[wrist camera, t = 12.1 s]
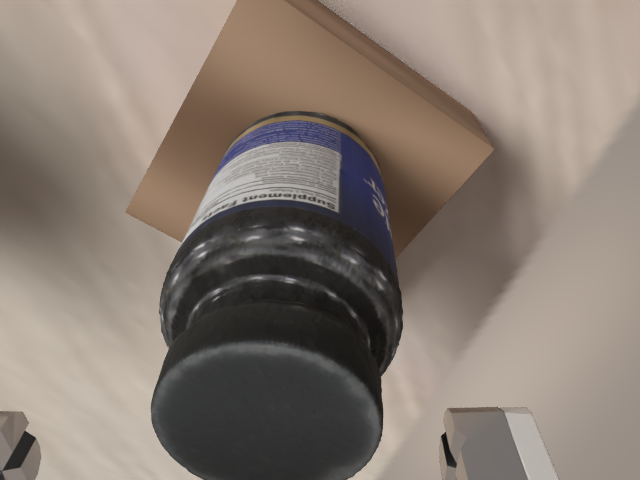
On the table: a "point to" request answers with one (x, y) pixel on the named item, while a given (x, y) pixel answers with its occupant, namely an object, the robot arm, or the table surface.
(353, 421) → the pill bottle
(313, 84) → the tan flat block
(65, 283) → the table surface
